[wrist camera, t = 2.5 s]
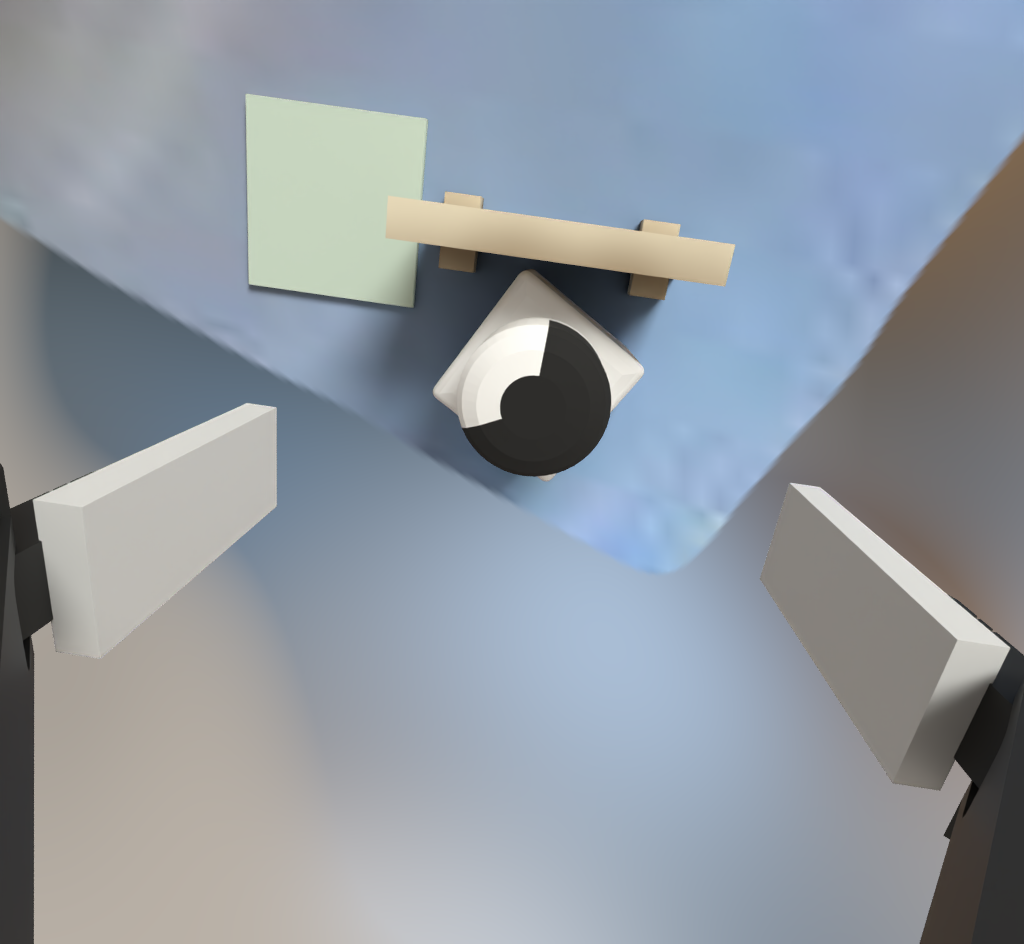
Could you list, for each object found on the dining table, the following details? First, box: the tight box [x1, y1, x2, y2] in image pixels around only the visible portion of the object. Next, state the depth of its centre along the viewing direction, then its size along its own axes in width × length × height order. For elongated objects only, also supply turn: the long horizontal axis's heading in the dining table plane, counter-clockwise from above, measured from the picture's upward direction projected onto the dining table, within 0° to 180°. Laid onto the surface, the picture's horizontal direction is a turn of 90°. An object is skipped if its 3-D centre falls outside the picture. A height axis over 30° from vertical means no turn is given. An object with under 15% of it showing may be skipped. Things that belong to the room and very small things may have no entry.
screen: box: [386, 192, 735, 300], centre depth 29 cm, size 4×14×11 cm, turn 82°
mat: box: [246, 94, 428, 308], centre depth 34 cm, size 10×10×1 cm
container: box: [433, 269, 644, 481], centre depth 31 cm, size 8×8×13 cm
